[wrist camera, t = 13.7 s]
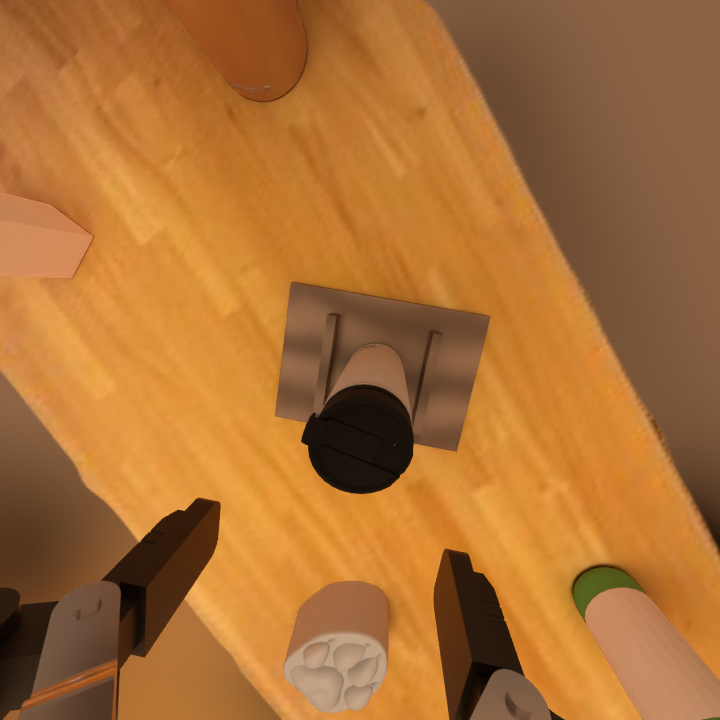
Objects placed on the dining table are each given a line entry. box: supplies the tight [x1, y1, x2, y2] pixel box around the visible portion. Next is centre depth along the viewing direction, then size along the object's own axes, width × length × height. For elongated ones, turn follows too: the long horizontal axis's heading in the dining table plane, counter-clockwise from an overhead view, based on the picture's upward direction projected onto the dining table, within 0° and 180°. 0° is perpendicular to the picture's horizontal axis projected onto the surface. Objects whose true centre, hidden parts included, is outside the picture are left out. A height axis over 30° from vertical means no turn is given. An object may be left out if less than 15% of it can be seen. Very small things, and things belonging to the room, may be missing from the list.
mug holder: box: [275, 282, 490, 452], centre depth 37 cm, size 16×22×4 cm
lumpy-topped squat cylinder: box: [283, 581, 388, 713], centre depth 43 cm, size 10×13×9 cm
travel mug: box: [301, 342, 414, 494], centre depth 29 cm, size 6×7×20 cm
